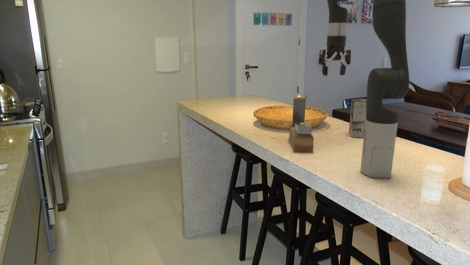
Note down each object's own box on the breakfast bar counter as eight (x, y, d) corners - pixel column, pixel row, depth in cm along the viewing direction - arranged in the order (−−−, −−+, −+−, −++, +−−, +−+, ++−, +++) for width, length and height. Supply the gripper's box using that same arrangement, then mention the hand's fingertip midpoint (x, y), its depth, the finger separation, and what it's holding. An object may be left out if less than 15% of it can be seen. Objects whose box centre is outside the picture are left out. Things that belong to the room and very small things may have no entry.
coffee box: (366, 138, 151) (369, 101, 147) (350, 137, 152) (354, 101, 148) (362, 132, 160) (366, 98, 156) (348, 132, 161) (351, 97, 157)
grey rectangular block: (311, 134, 130) (311, 125, 129) (297, 134, 130) (298, 124, 129) (307, 131, 138) (307, 122, 138) (294, 131, 139) (295, 122, 138)
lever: (304, 125, 146) (306, 96, 143) (292, 125, 146) (293, 95, 143) (304, 124, 147) (306, 95, 144) (291, 124, 147) (293, 95, 144)
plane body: (313, 152, 131) (314, 135, 129) (294, 152, 131) (294, 135, 130) (305, 139, 149) (306, 124, 147) (288, 139, 149) (289, 124, 147)
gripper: (327, 34, 134) (324, 76, 138) (357, 35, 139) (353, 75, 143) (316, 34, 141) (314, 75, 145) (344, 35, 146) (341, 74, 150)
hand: (333, 75), depth 144 cm, fingers open, 8 cm apart
